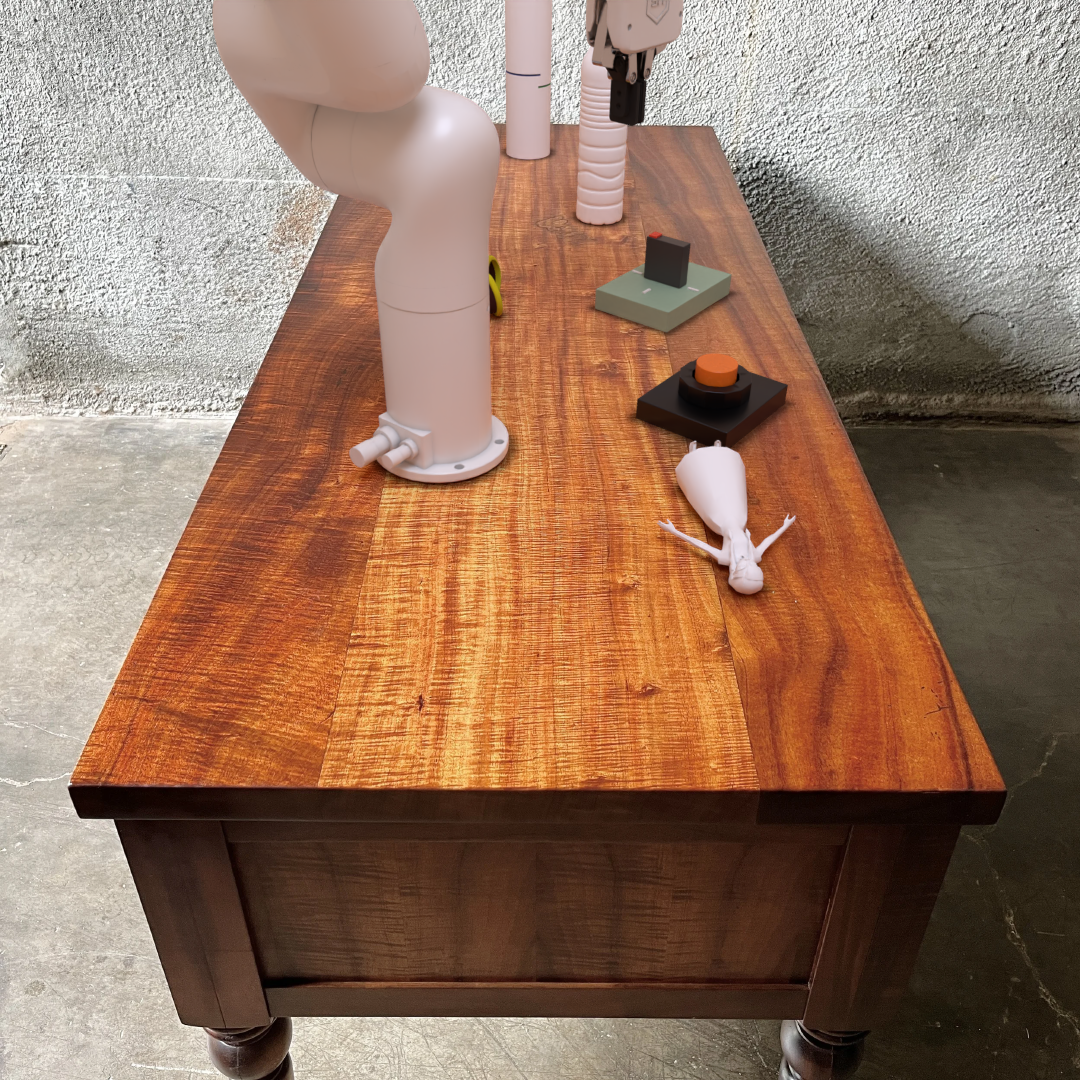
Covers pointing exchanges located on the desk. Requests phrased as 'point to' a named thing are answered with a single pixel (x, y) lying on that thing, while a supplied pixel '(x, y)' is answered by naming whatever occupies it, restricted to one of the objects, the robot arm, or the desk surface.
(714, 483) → the woman figurine
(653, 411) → the button housing
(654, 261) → the knob
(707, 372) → the button
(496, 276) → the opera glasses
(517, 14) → the cylindrical container
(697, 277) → the knob panel
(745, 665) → the desk surface
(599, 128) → the water bottle
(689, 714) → the desk surface
